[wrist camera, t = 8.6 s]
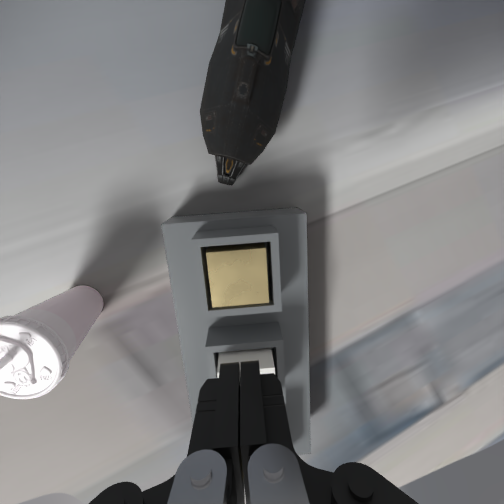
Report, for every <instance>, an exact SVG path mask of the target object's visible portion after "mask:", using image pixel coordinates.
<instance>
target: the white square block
mask: <svg viewBox="0 0 504 504" xmlns="http://www.w3.org/2000/svg"><path fill="white" fill-rule="evenodd" d="M256 360H259V368H260V374H269V373H274V374H275V367H274V361H273V356H272V351H271V348H260V349H249V350H238V351H227V352H219V358H218V368H217V377H218V378H219V371H220V364H222V363H234V362H239V364H240V362H244V361H256Z"/></svg>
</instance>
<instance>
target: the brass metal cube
mask: <svg viewBox="0 0 504 504" xmlns="http://www.w3.org/2000/svg"><path fill="white" fill-rule="evenodd" d="M206 258H207V266H208V275H209V283H210V292H211V300H212V307H224V306H236V305H248V304H259V303H269V292H268V275H267V258H266V247H265V244H264V242H257V243H245V244H232V245H220V246H208V249H207V251H206Z"/></svg>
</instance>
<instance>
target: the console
mask: <svg viewBox="0 0 504 504" xmlns="http://www.w3.org/2000/svg"><path fill="white" fill-rule="evenodd" d="M161 226H162V232H163V239H164V245H165V251H166V258H167V264H168V270H169V277H170V283H171V289H172V295H173V302H174V308H175V314H176V321H177V327H178V333H179V340H180V346H181V352H182V359H183V365H184V371H185V378H186V384H187V390H188V397H189V403H190V409H191V416H192V422H193V423H194V418H195V414H196V407H197V404H198V396H199V391H200V388H201V387H202V386H203V384H204V383H205V381H206V380H207V379H212V378H218V377H217V368H218V358H219V352H227V351H238V350H249V349H260V348H271V351H272V356H273V361H274V367H275V375H276V377H277V378H278V379H279V381H280V382H281V385H282V391H283V396H284V401H285V407H286V412H287V417H288V423H289V428H290V433H291V439H292V444H293V447H294V449H295V452H296V453H297V455H303V454H311V436H310V379H309V323H308V266H307V213H305V212H304V211H302V210H300V209H299V208H297V207H296V208H282V209H269V210H256V211H243V212H230V213H217V214H204V215H191V216H178V217H171V218H170V219H168V220H167V221H166V222H164V223H163V224H161ZM257 242H264V244H265V247H266V258H267V275H268V292H269V303H259V304H248V305H236V306H224V307H212V300H211V292H210V283H209V275H208V266H207V258H206V251H207V249H208V246H220V245H232V244H245V243H257Z"/></svg>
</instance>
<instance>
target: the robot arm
mask: <svg viewBox="0 0 504 504" xmlns="http://www.w3.org/2000/svg"><path fill="white" fill-rule="evenodd" d="M244 485H245V494H246V504H418V503H417V502H415V501H414V500H413V499H412V498H410V497H409V496H408V495H406V494H405V493H404V492H402V491H401V490H400V489H399V488H397V487H396V486H395V485H393V484H392V483H391V482H389V481H388V480H387V479H385V478H384V477H383V476H382V475H380V474H379V473H378V472H376V471H375V470H373V469H372V468H370V467H369V466H367V465H364V464H361V463H357V462H349V463H345V464H342V465H341V466H339V467H338V468H337V469H336V470H335V472H334V473H333V472H329V471H325V470H321V469H317V468H314V467H312V466H310V465H308V464H307V463H305V462H304V461H303V460H302V459H301V458H300V457H299V456H298V455H297V453H296V452H295V449H294V447H293V444H292V439H291V433H290V428H289V423H288V417H287V412H286V407H285V401H284V396H283V391H282V385H281V382H280V381H279V379H278V378H277V377H276V375H275V374H274V373H269V374H260V368H259V360H256V361H244V362H240V364H239V362H234V363H222V364H220V371H219V378H212V379H207V380H206V381H205V383H204V384H203V386H202V387H201V388H200V391H199V396H198V404H197V407H196V414H195V418H194V423H193V429H192V434H191V439H190V445H189V450H188V455H187V457H186V458H185V459H184V460H183V461H182V463H181V464H180V466H179V467H178V469H177V472H176V474H175V475H174V476H173V477H171V478H170V479H169V480H167V481H165V482H163V483H161V484H159V485H157V486H154V487H152V488H150V489H148V490H145V491H143V492H142V491H141V489H140V488H139V487H138V486H137V485H136V484H134V483H132V482H121V483H117V484H114V485H112V486H110V487H108V488H107V489H105V490H104V491H102V492H101V493H100V494H99V495H98V496H97V497H96V498H94V499H93V500H92V501H91V502H90V503H89V504H245V502H244Z"/></svg>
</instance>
